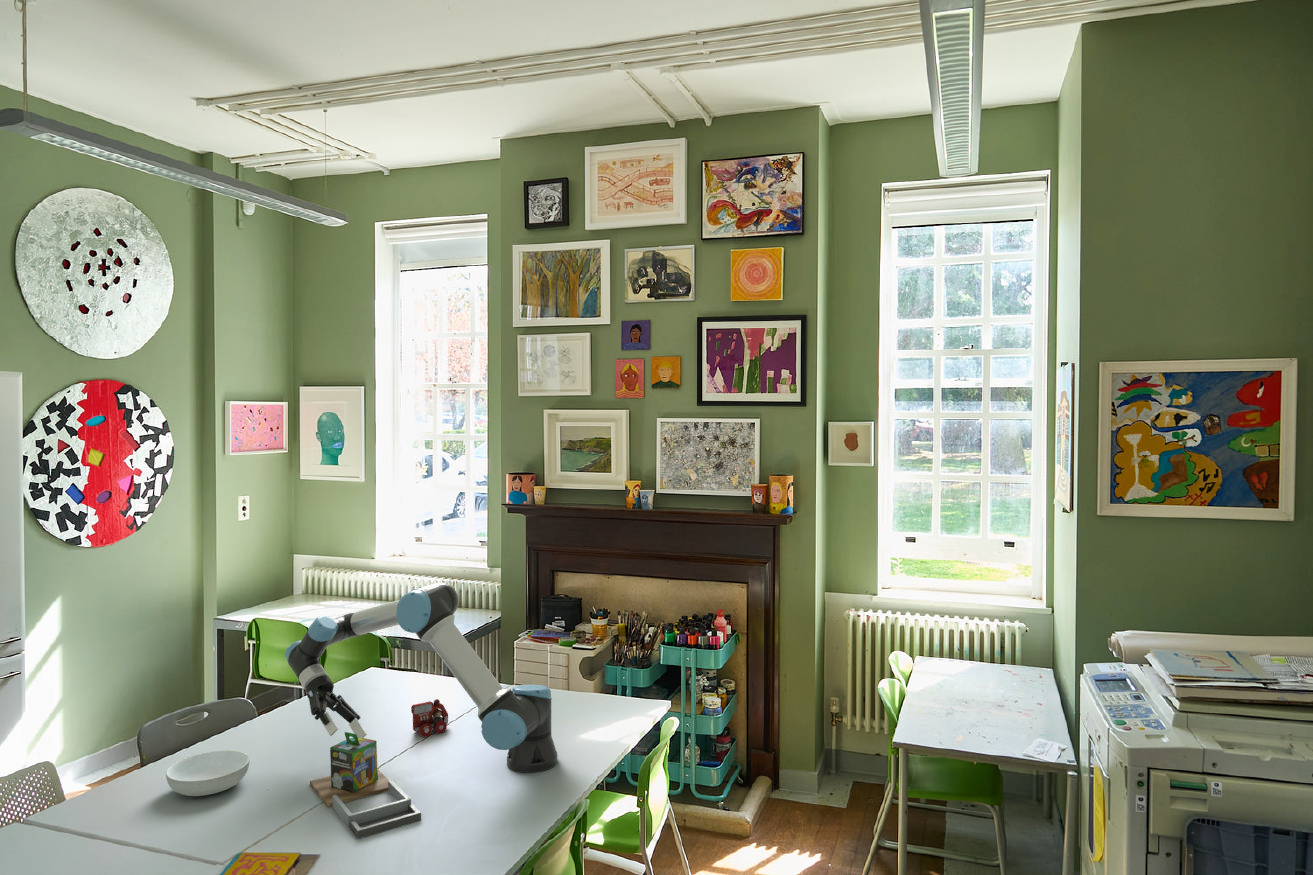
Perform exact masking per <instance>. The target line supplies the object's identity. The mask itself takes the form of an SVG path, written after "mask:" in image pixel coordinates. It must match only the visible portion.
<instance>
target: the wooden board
mask: <svg viewBox="0 0 1313 875" xmlns="http://www.w3.org/2000/svg"><path fill="white" fill-rule="evenodd" d="M377 770H378V780H377V781H375V782H373V783H371V784H369V785H367V786H365V787H363V788H362V789H360V790H358V791H356V792H354V793H352V792H349V791H345V790H342V789H338V788H335V787H331V775H328V776H324V777H320V778H315V779H312V780H310V781H309V784H310V786H311V787H313V788H312V789H313V790H314V791H315V793H316V794H317V795H318V796H319V798H320V799H321V800H322V801H323V803H324V804H325V805H326V807H327V808H330V807H332V796H333V795H337V796H338V797H339V799H340V800H341V801H342V802H343V803H344V804H345V803H348V802H353V801H356V800H360V799H363V798H367V797H371V796H375V795H377V794H378V795H379V794H383V793H385V792H388V781H390V779H388V778H387V777H386V776H385V775H384V774H383V773H382V772H381V771H380V769H379V768H377Z"/></svg>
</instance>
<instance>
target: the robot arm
mask: <svg viewBox="0 0 1313 875" xmlns="http://www.w3.org/2000/svg"><path fill="white" fill-rule="evenodd" d="M458 607H459V595H458V593H457V590H455V588H454V587H453V586H452V585H450V584H448V583H445V582H434V583H432V584H429V585H426V586H425V585H424V586H423V587H420V588H414V589H412V590H410V591H408V592H406V593H405V594H404V595H402V596H401V598H400V599H397V600H394V601H390V602H387V603H383V604H380V605H376V606H373V607H369V608H366V609H361V610H359V611H356V612H351V613H347V614H344V615H342V616H338V617H336V618H331V617H329V616H325V615H320V616H317V617H316V618H315V619H314V620H313V622H312V623H311V624H310V625H309V627H308V629H307V631H306V632H305V634H304V636H303V638H302V639H301V640H297V641H294V642H293V643H291V644H290V645H289V646H288V647H287V648H286V650H285V652H284V657H285V658H286V661H287V664H288V665H289V667H290V668H291V669H292V672H293V673H294V674H295V676H296V677H297V678H296V679H298V681H299V683H300V684H301V688H302V689H303V690H305V693H306V696H307V699H308V702H309V708H310V713H311V715H312V716H314V720H315V721H318V720H320V722H321V724H322V725H323V727H324V728H325V730H326V732H327V733H328V735H329V736H330V737H332V736H334V735H335V733H336V732H337V731H338V730H339V727H338V725H337V724H336V723H335V721H334V719H333V717H332V715H331V714H330V713H329V712H328V711H327V708H329V709H330V710H331V711H332V712H336V713H337V715H339V716H340V717H342V718H343V719H344V720H345V721H346V722H348V723H349V724H348V726H349V727H350V729H351V731H352V732H353V734H356V735H357V737H359V738H365V737H366V736H367V735H368V734H367V732H366V731H365V729H364V727H363V726H362V725H361V722H360V721H359V720H360V719H361V715H360V714H359V713H357V712H356V711H355V710H354V709H353V708H352V707H351V705H350V704H349V703H347V701H346V700H345V699H344V698H343V696H342V695H341V694H338V695H336V694H335V693H334V688H335V687H334V686H335V685H334V683H333V681H332V680H331V678H330V676H329V675H328V673H327V671H326V670H325V668H324V667H323V665H322V663H321V661H320V658H321V656H322V654H324V652H325V650H326V649H327V648H328V647H329V646H332V645H334V644H337V643H340V642H341V641H343V642H344V641H345V640H348V639H351V638H355V637H359V636H362V635H366V634H370V633H373V632H377V631H381V630H385V629H388V628H392V627H395V626H399V627H400V628H401V629H402V630H403V631H405V632H407V633H411V634H415V635H416V636H417V638H419V640H420V641H421V642H425V643H429V644H430V645H431V647H432V648H433V650H434V651H435V652H436V653H437V654H438V655H437V656H439V657H440V659H441V661H443V663H444V664H445V665H446V667H447V668H448V669H449V671H450V672H451V673H452V675H453V676H454V678H455V679H456V680H457V681H458V683H459V684H460V685H461V687H462V688H463V690H464V691H465V692H466V693H467V695H468V696H469V698H470V699H471V700H472V701H473V703H474V704H475V705H476V707H477V709H478V710H477V718H478V719H479V721H480V722H481V731H480V732H481V734H482V737H483V739H484V740H485V742H486V743H487V744H488V745H489V746H490V747H491V748H494V749H496V750H500V751H508V752H507V755H506V767H507V768H509V770H512V771H515V772H519V773H536V772H537V773H538V772H543V771H547V770H549V769H551V768H553V767H555V766H556V765H557V764H558V752H557V749H556V746H555V742H554V740H553V736H552V700H553V698H552V691H551V689H550V688H549V687H548V686H546V685H543V684H532V683H531V684H520V685H515V686H514V687H513V688H512V689H511V688H504V687H503V686H502V684H500V682H499V681H498V680H497V678H496V677H495V676H494V675H493V673H492V672H491V671H490V669H489V668H488V667H487V665H486V664H485V662H484V661H483V660H482V658H481V657H480V656H479V655H478V653H477V652H476V651H475V649H474V648H473V647H472V645H471V644H470V642H468V640H467V639H466V638H465V636H464V635H463V634H462V633H461V631H460V630H459V628H458V627H457V626H456V625H455V612H457V609H458Z"/></svg>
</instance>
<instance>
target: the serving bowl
mask: <svg viewBox="0 0 1313 875" xmlns="http://www.w3.org/2000/svg"><path fill="white" fill-rule="evenodd" d="M250 763H251V762H250V756H249V754H247V753H245V752H242V751H239V750H217V751H208V752H202V753H199V754H198V753H197V754H195V755H191V756H187V757H186V758H182V759H180V760H178V761H177V762H174V763H172V764H171V765H170V766H169V767H168V768H167V769H166V770H165V778H166V782H167V784H168V786H169V787H170V789H171V790H172V791H174V792H175V793H177V794H180V795H182V796H187V797H201V796H209V795H214V794H217V793H221V792H224V791H226V790H228V789H231V788H232V787H234V786H235V785H237V784H238V783H239V782H240V781H241V780H243V779H244V777H245V776H246V774H247V772H248V770H249V767H250Z"/></svg>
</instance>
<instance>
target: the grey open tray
mask: <svg viewBox="0 0 1313 875" xmlns="http://www.w3.org/2000/svg"><path fill="white" fill-rule="evenodd" d="M387 792H388V793H389V794H390V795H391V797H392V798H394V799H395V800H396V801H393V802H390V803H386V804H383V805H379V806H376V807H371V808H367V809H364V810H361V811H357V812H354V813H352V812H351V810H350V809H349V808H348V807H347V806H346V804H345V803H343V802H342V801H341V800H340V799H339V797H338V796H337V795H333V796H332V806H331V807H332V808H333V810H334V811H335V813H337V814H338V816H339V817H340V818H341V820H342V821H343V822H344V824H346V826H347V827H348V829H349V830H350V831H351V832H352V833H353V835H354V836H355V838H357V839H359V840H360V839H363V838H367V837H370V836H373V835H376V834H379V833H383V832H386V831H390V830H393V829H397V828H400V827H402V826H407V825H409V824H413V823H417V822H419V821H422V812H421V811H420V810H419V809H418V807H416V806H415V805H414V804H413V803H412V798H411V797H410V796H409V795H408V794H407V793H405V792H404V791H403V789H402V788H400V787H399V785H397V784H396V783H395V782H394V781H393V779H391V780H390V779H389V781H388V791H387Z"/></svg>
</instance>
